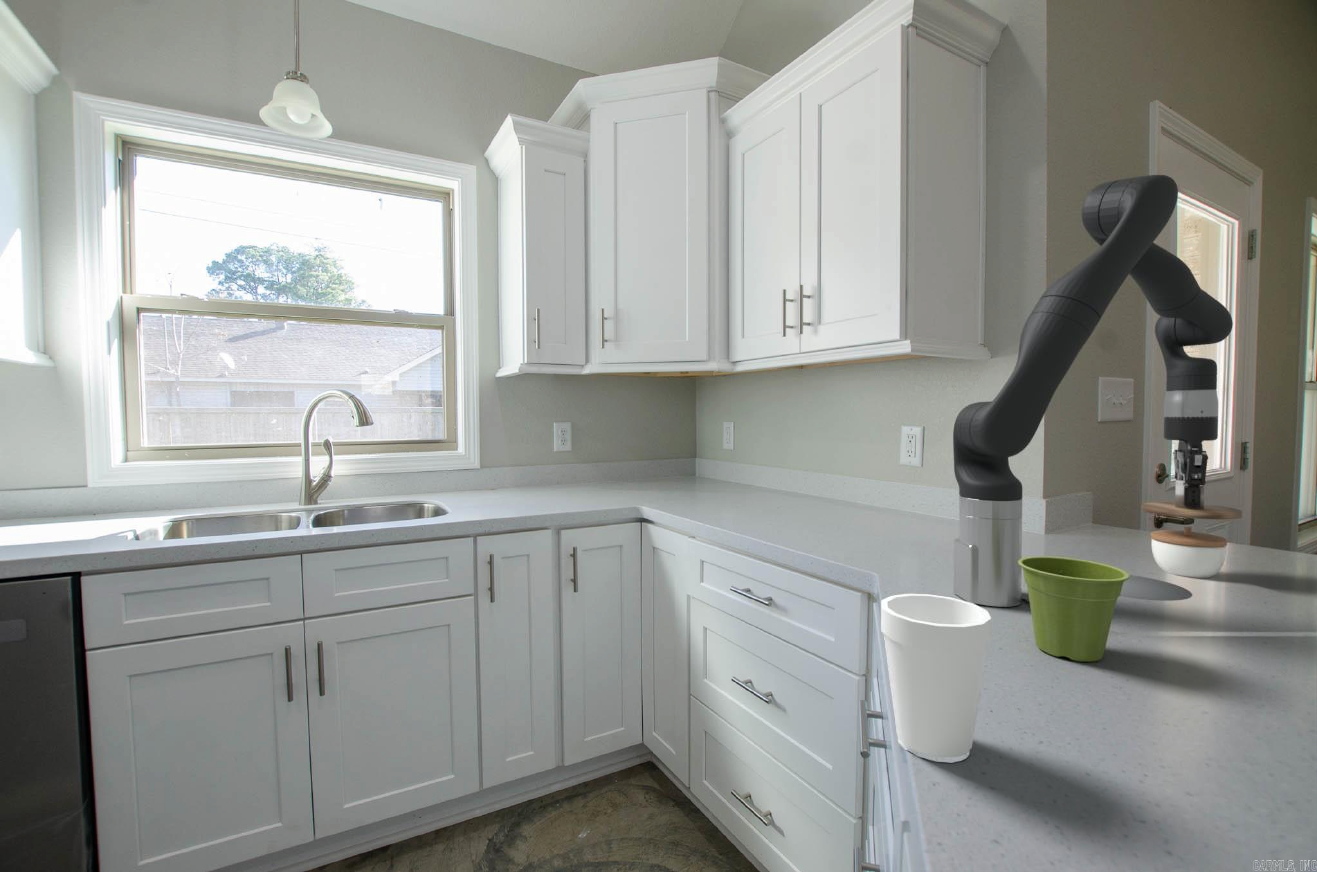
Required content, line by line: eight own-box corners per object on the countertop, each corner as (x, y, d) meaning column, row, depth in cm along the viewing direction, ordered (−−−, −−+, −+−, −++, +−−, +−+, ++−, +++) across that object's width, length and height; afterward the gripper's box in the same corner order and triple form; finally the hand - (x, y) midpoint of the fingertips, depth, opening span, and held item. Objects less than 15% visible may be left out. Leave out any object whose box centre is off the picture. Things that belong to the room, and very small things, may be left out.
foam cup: (864, 720, 60) (864, 595, 59) (950, 715, 61) (951, 592, 60) (912, 777, 50) (912, 629, 50) (1013, 770, 51) (1014, 624, 51)
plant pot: (1096, 679, 69) (1097, 584, 68) (997, 644, 79) (998, 562, 79) (1147, 659, 74) (1148, 571, 74) (1048, 629, 84) (1049, 552, 84)
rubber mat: (1113, 603, 95) (1113, 600, 95) (1047, 575, 112) (1047, 572, 112) (1220, 603, 95) (1221, 600, 95) (1138, 575, 112) (1138, 572, 112)
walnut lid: (1182, 519, 103) (1183, 485, 103) (1123, 507, 117) (1123, 477, 117) (1264, 519, 103) (1265, 485, 103) (1195, 506, 117) (1195, 476, 117)
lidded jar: (1242, 585, 104) (1243, 533, 104) (1173, 582, 107) (1174, 531, 106) (1199, 570, 115) (1200, 522, 115) (1137, 567, 117) (1138, 521, 117)
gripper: (1228, 414, 102) (1226, 512, 102) (1207, 414, 114) (1205, 502, 114) (1172, 415, 106) (1170, 509, 106) (1157, 414, 118) (1156, 499, 118)
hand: (1188, 505), depth 110 cm, fingers closed on walnut lid, 4 cm apart
